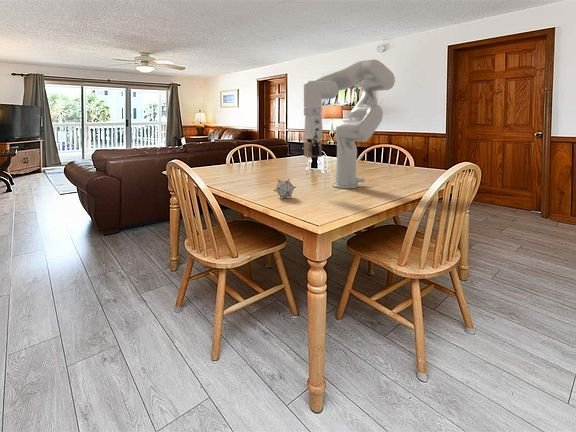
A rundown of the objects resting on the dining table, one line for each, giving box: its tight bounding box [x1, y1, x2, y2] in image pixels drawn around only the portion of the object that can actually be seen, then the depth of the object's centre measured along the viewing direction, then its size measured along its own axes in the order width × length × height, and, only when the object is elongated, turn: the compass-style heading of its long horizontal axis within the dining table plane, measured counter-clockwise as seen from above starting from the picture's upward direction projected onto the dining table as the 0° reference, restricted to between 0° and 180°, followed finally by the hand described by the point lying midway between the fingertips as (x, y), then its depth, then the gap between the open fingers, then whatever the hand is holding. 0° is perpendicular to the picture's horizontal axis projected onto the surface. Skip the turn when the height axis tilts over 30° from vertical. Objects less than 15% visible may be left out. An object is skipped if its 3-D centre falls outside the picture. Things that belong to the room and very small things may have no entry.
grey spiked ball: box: [273, 178, 297, 200], centre depth 152 cm, size 9×8×10 cm
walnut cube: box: [303, 141, 323, 158], centre depth 157 cm, size 6×6×6 cm
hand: (312, 154), depth 158 cm, fingers closed on walnut cube, 6 cm apart
